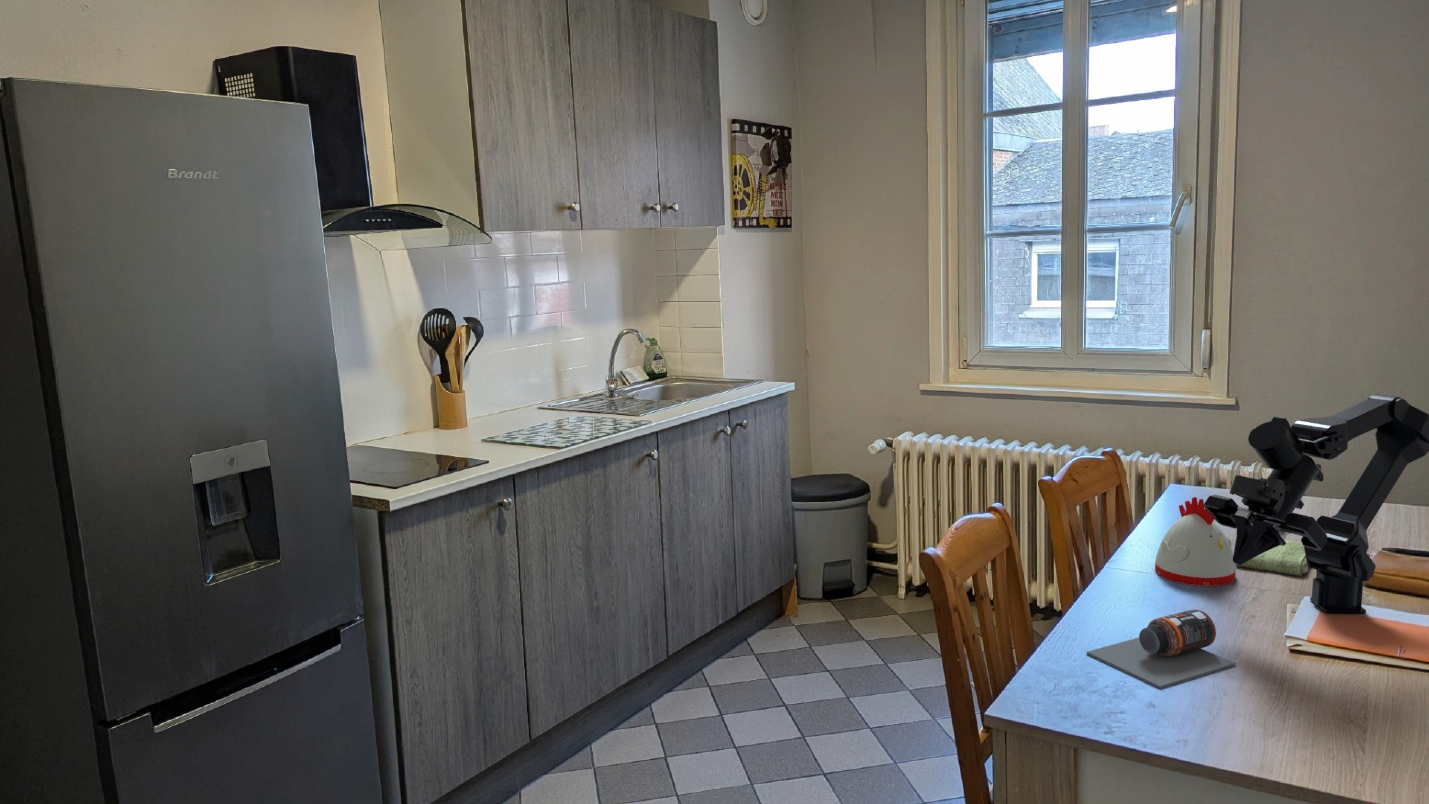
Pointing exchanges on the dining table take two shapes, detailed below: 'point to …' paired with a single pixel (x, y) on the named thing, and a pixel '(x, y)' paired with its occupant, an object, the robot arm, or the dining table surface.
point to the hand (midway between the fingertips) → (1235, 563)
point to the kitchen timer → (1196, 549)
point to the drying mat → (1159, 663)
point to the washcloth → (1281, 559)
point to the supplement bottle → (1178, 633)
